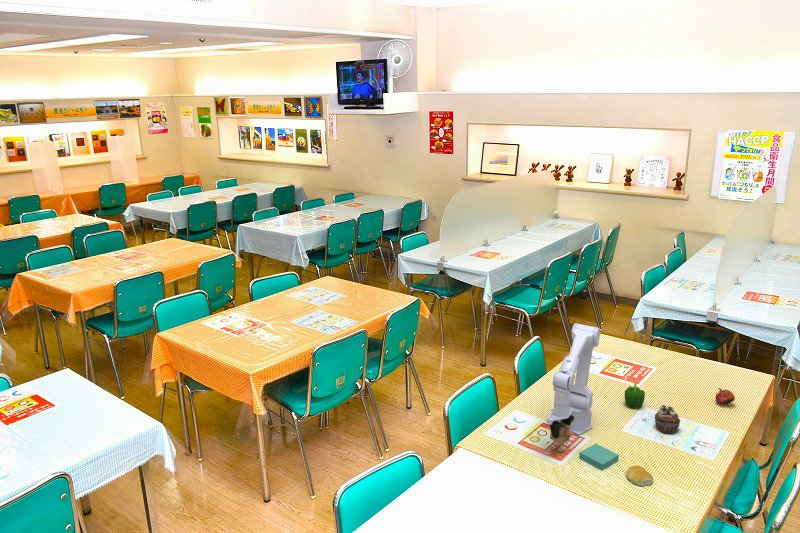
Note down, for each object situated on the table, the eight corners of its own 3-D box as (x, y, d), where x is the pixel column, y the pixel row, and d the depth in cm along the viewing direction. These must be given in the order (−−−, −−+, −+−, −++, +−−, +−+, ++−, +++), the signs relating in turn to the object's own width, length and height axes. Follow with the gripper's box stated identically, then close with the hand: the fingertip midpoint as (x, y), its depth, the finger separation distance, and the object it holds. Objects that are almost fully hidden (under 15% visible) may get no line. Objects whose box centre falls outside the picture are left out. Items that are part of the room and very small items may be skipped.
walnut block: (558, 434, 237) (559, 420, 235) (568, 440, 233) (570, 425, 232) (549, 438, 234) (550, 424, 232) (560, 444, 230) (561, 430, 229)
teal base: (595, 450, 236) (595, 443, 235) (618, 461, 228) (618, 454, 227) (579, 459, 230) (579, 452, 229) (602, 471, 222) (602, 464, 222)
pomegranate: (735, 411, 268) (726, 390, 274) (742, 404, 262) (732, 383, 268) (719, 413, 268) (709, 392, 274) (725, 406, 262) (715, 385, 268)
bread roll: (641, 470, 223) (642, 460, 222) (656, 485, 214) (657, 474, 213) (620, 473, 221) (621, 463, 220) (635, 488, 212) (636, 478, 211)
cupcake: (681, 436, 244) (684, 414, 241) (655, 434, 246) (658, 411, 243) (676, 424, 253) (678, 402, 250) (651, 422, 255) (653, 400, 252)
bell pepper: (640, 412, 262) (642, 391, 260) (621, 407, 267) (623, 386, 265) (646, 405, 269) (648, 384, 266) (627, 399, 274) (629, 379, 271)
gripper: (565, 393, 237) (563, 424, 240) (540, 404, 228) (538, 436, 232) (580, 399, 231) (578, 431, 235) (556, 411, 223) (553, 444, 226)
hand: (559, 434), depth 233 cm, fingers closed on walnut block, 5 cm apart
